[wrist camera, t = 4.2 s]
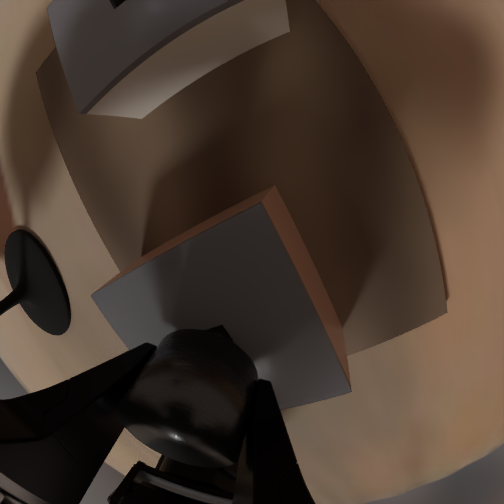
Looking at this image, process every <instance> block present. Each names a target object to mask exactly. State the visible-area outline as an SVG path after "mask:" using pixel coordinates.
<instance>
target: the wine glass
mask: <svg viewBox="0 0 504 504" xmlns="http://www.w3.org/2000/svg"><path fill="white" fill-rule="evenodd" d="M5 265H6V270H7V274H8V278H9V281H10V284H11V287H12V289H13V291H12V292H11V293H10V294H9V295H8V296H7V297H5V298H4V299H3V300H1V301H0V315H2V314H3V313H4V312H6V311H7V310H9V309H10V308H12V307H13V306H15V305H17V304H19V303H20V305H21V306H22V308H23V309H24V311H25V312H26V314H27V315H28V316H29V317H30V319H31V320H32V321H33V322H34V323H35V324H36V325H37V326H39V327H40V328H41V329H42V330H44V331H46V332H47V333H49V334H52V335H62V334H63V333H65V332H66V331H67V329H68V328H69V325H70V320H71V313H70V305H69V301H68V297H67V293H66V290H65V287H64V285H63V282H62V280H61V277H60V275H59V273H58V271H57V269H56V267H55V265H54V263H53V261H52V260H51V258H50V256H49V255H48V253H47V252H46V250H45V249H44V247H43V246H42V245H41V244H40V242H39V241H38V240H37V239H36V238H35V237H34V236H32V235H31V234H30V233H28V232H26V231H24V230H16V231H14V232H12V233H11V234H10V235H9V237H8V239H7V241H6V245H5Z"/></svg>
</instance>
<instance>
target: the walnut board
mask: <svg viewBox="0 0 504 504" xmlns="http://www.w3.org/2000/svg"><path fill="white" fill-rule="evenodd" d="M286 7H287V13H288V21H289V28H290V32H288V33H285V34H283V35H280V36H278V37H276V38H273V39H271V40H269V41H267V42H265V43H263V44H260V45H258V46H256V47H254V48H252V49H250V50H248V51H246V52H244V53H242V54H240V55H238V56H237V57H235V58H233V59H231V60H229V61H227V62H226V63H224V64H222V65H220V66H218V67H217V68H215V69H213V70H212V71H210V72H208V73H207V74H205V75H203V76H202V77H200V78H199V79H197V80H195V81H194V82H192V83H191V84H189V85H188V86H186V87H185V88H183V89H182V90H180V91H179V92H177V93H176V94H174V95H173V96H172V97H170V98H169V99H167V100H166V101H165V102H163V103H162V104H161V105H159V106H158V107H157V108H155V109H154V110H153V111H151V112H150V113H149V114H147V115H146V116H145V117H144V118H142V119H138V118H129V117H119V116H108V115H93V114H79V112H78V110H77V107H76V105H75V102H74V99H73V97H72V94H71V91H70V88H69V85H68V82H67V80H66V77H65V74H64V71H63V67H62V64H61V61H60V58H59V54H58V51H57V48H55V49H54V50H53V51H52V53H51V54H50V55H49V56H48V57H47V59H46V60H45V61H44V63H43V64H42V65H41V67H40V68H39V69H38V71H37V72H36V75H37V79H38V83H39V87H40V91H41V94H42V98H43V101H44V105H45V108H46V111H47V115H48V118H49V121H50V124H51V127H52V130H53V132H54V135H55V138H56V141H57V143H58V146H59V149H60V151H61V154H62V156H63V159H64V161H65V164H66V166H67V169H68V171H69V173H70V176H71V178H72V180H73V183H74V185H75V187H76V189H77V191H78V194H79V196H80V198H81V200H82V202H83V204H84V206H85V208H86V210H87V212H88V214H89V216H90V218H91V220H92V222H93V224H94V226H95V228H96V230H97V232H98V233H99V235H100V237H101V239H102V241H103V243H104V244H105V246H106V248H107V250H108V251H109V253H110V255H111V257H112V258H113V260H114V262H115V263H116V265H117V267H118V268H119V270H120V272H121V271H123V270H124V269H125V268H127V267H128V266H129V265H131V264H132V263H133V262H135V261H136V260H137V259H139V258H140V257H142V256H143V255H145V254H147V253H148V252H150V251H152V250H154V249H155V248H157V247H159V246H161V245H162V244H164V243H166V242H168V241H169V240H171V239H173V238H175V237H176V236H178V235H180V234H182V233H184V232H185V231H187V230H189V229H191V228H193V227H195V226H196V225H198V224H200V223H202V222H204V221H206V220H207V219H209V218H211V217H213V216H215V215H217V214H219V213H221V212H222V211H224V210H226V209H228V208H230V207H232V206H234V205H236V204H238V203H240V202H242V201H244V200H246V199H248V198H250V197H252V196H254V195H255V194H257V193H259V192H261V191H263V190H266V189H268V188H270V187H272V186H274V185H275V186H276V188H277V190H278V192H279V194H280V196H281V198H282V200H283V202H284V203H285V205H286V207H287V209H288V211H289V213H290V215H291V217H292V219H293V221H294V223H295V225H296V228H297V230H298V232H299V234H300V236H301V238H302V240H303V242H304V244H305V246H306V248H307V250H308V252H309V254H310V257H311V259H312V261H313V263H314V265H315V267H316V269H317V272H318V274H319V276H320V278H321V280H322V283H323V285H324V287H325V289H326V291H327V294H328V296H329V298H330V300H331V303H332V305H333V307H334V310H335V312H336V314H337V317H338V319H339V321H340V324H341V326H342V328H343V334H344V340H345V347H346V353H347V355H350V354H353V353H356V352H359V351H361V350H364V349H367V348H369V347H372V346H375V345H377V344H380V343H382V342H385V341H387V340H389V339H392V338H394V337H397V336H399V335H401V334H404V333H406V332H408V331H410V330H412V329H415V328H417V327H419V326H421V325H423V324H425V323H427V322H429V321H431V320H434V319H436V318H438V317H439V316H441V315H443V314H445V313H447V304H446V296H445V289H444V283H443V277H442V271H441V266H440V261H439V256H438V251H437V246H436V242H435V238H434V234H433V230H432V226H431V222H430V218H429V215H428V211H427V208H426V205H425V201H424V198H423V195H422V192H421V189H420V186H419V183H418V180H417V177H416V175H415V172H414V169H413V166H412V164H411V161H410V159H409V156H408V154H407V151H406V149H405V146H404V144H403V142H402V139H401V137H400V135H399V133H398V130H397V128H396V126H395V124H394V122H393V120H392V118H391V116H390V114H389V112H388V110H387V108H386V106H385V104H384V102H383V100H382V98H381V96H380V94H379V93H378V91H377V89H376V87H375V85H374V84H373V82H372V80H371V78H370V77H369V75H368V73H367V72H366V70H365V68H364V67H363V65H362V64H361V62H360V60H359V59H358V57H357V56H356V54H355V53H354V51H353V50H352V48H351V47H350V45H349V44H348V43H347V41H346V40H345V38H344V37H343V36H342V34H341V33H340V31H339V30H338V29H337V27H336V26H335V25H334V23H333V22H332V21H331V20H330V18H329V17H328V16H327V15H326V13H325V12H324V11H323V10H322V9H321V7H320V6H319V5H318V4H317V3H316V1H315V0H286ZM210 329H211V328H210ZM210 329H206V330H204V331H210ZM232 342H233V343H235V342H234V341H232Z"/></svg>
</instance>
